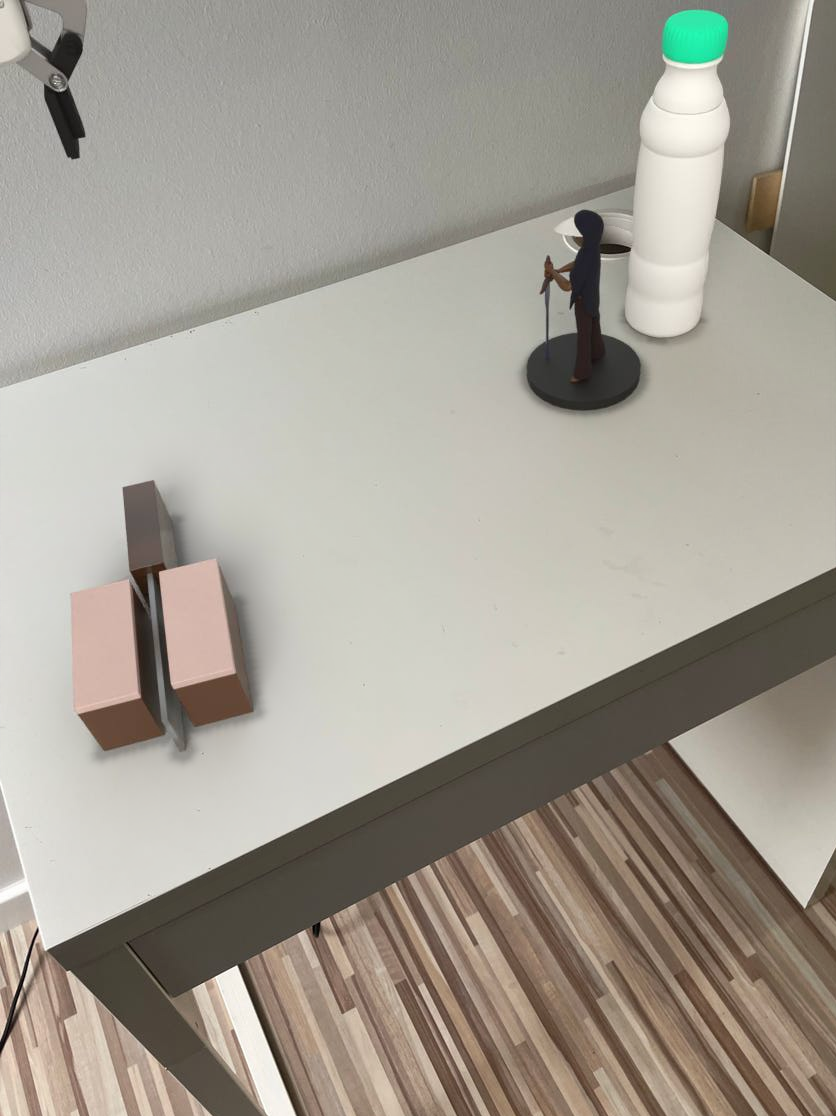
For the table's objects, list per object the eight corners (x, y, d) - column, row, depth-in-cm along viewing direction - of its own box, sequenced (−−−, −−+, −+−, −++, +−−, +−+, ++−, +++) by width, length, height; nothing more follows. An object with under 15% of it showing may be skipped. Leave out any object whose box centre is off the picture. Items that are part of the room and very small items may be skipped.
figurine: (552, 331, 88) (554, 170, 76) (655, 354, 85) (674, 191, 73) (508, 394, 82) (503, 231, 70) (616, 421, 79) (629, 256, 67)
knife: (142, 528, 74) (122, 486, 71) (172, 521, 75) (153, 479, 71) (164, 756, 61) (141, 718, 58) (201, 746, 61) (180, 708, 58)
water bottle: (679, 349, 85) (721, 44, 65) (610, 327, 87) (631, 27, 68) (712, 310, 88) (762, 8, 69) (645, 290, 91) (674, -6, 71)
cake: (98, 638, 68) (70, 592, 64) (235, 604, 69) (216, 557, 65) (103, 752, 62) (73, 709, 58) (253, 712, 63) (234, 667, 59)
